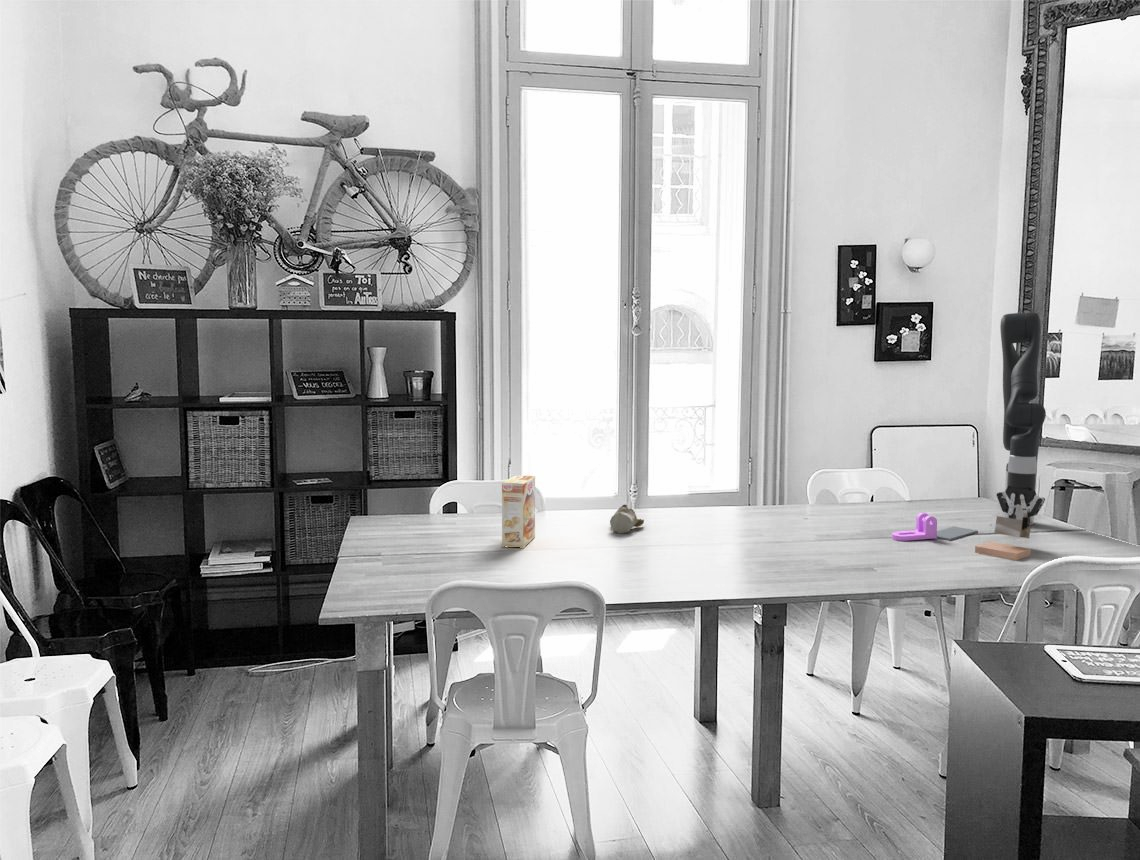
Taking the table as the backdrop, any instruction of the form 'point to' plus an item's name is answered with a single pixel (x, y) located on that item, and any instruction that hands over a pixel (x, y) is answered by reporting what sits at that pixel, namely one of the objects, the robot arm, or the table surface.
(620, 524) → the ceramic sculpture
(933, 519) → the bracket
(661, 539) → the table surface
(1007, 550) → the tile
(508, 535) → the coffeecake box
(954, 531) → the mat
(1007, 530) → the upright plank on base
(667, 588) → the table surface
